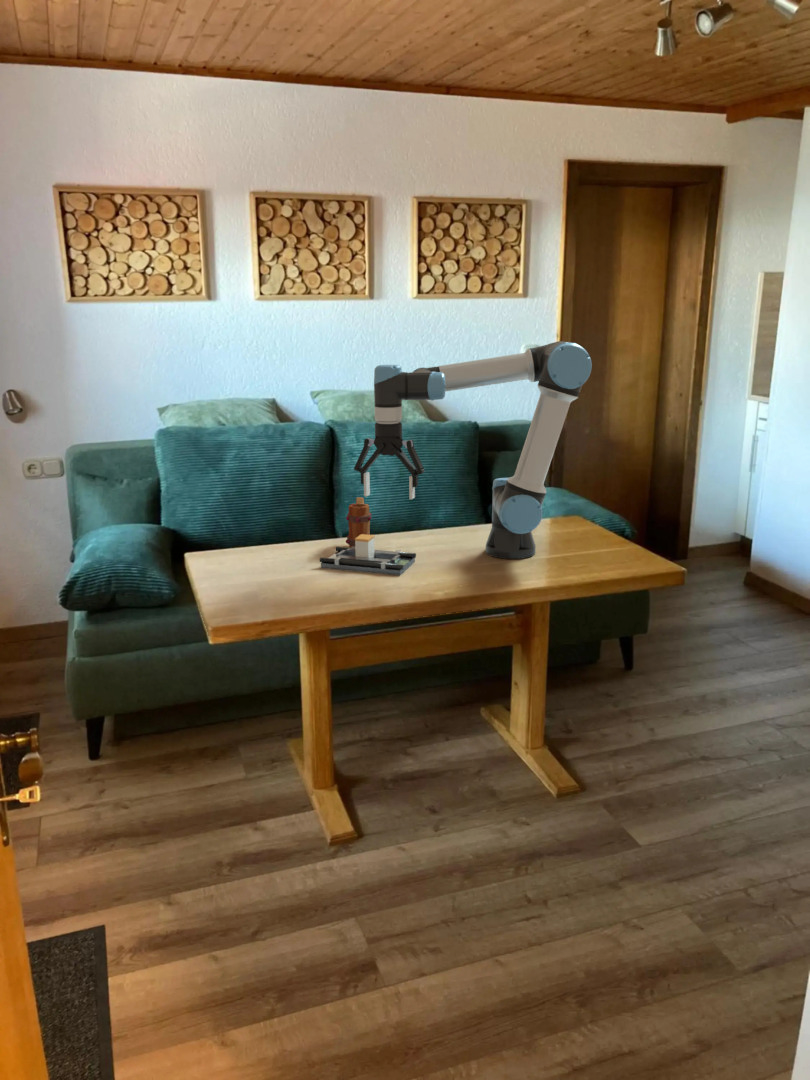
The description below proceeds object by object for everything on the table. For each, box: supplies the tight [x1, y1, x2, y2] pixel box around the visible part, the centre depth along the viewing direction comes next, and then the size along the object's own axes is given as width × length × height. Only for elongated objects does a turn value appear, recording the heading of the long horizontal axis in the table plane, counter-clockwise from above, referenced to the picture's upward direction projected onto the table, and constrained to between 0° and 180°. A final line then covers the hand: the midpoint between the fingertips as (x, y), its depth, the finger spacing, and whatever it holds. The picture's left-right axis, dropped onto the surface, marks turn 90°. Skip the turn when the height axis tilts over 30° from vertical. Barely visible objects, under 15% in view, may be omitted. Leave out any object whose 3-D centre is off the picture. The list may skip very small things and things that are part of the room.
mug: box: [345, 496, 373, 548], centre depth 266 cm, size 15×8×15 cm, turn 179°
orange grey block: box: [355, 534, 375, 558], centre depth 249 cm, size 4×5×7 cm
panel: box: [319, 546, 417, 577], centre depth 249 cm, size 25×14×3 cm, turn 72°
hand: (389, 497), depth 243 cm, fingers open, 13 cm apart
